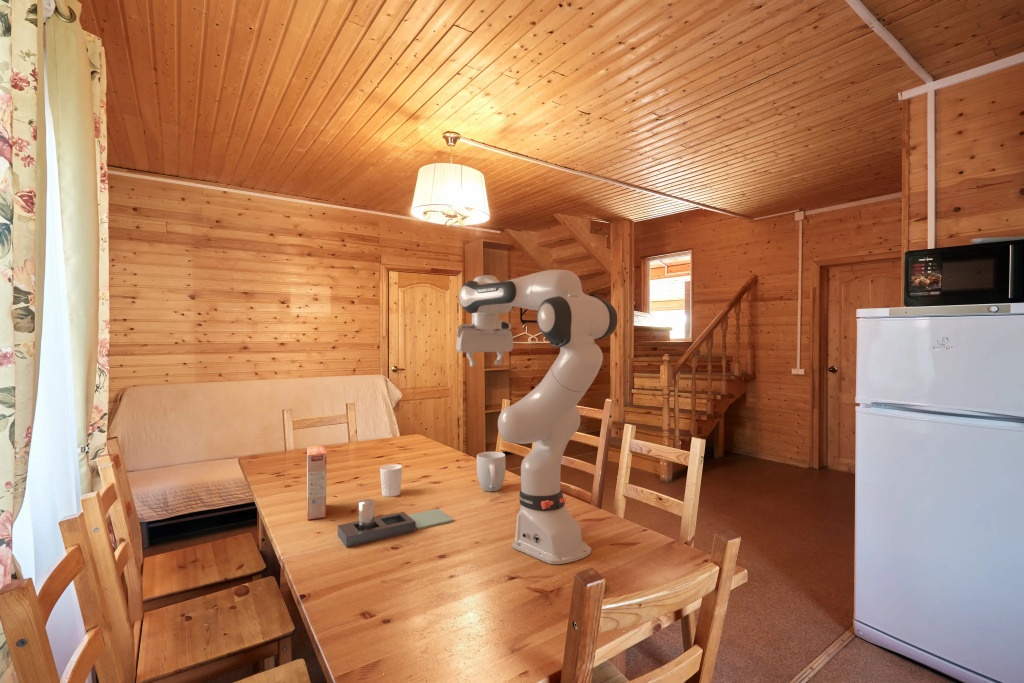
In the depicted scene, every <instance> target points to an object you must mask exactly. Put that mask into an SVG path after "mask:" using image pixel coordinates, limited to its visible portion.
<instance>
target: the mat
mask: <svg viewBox="0 0 1024 683" xmlns="http://www.w3.org/2000/svg"><path fill="white" fill-rule="evenodd" d="M407 515H408V516H409V517H411V518H412V519H413V520H414V521H415V524H416V530H417V531H418V530H423V529H427V528H431V527H434V526H435V527H436V526H440V525H444V524H448V523H453V522H454V521H455V519H453V518H452V517H451V516H449V515H448V514H446V513H445V512H444V511H442V510H440V509H439V508H434V509H429V510H425V511H420V512H416V513H412V514H407ZM454 523H455V522H454Z"/></svg>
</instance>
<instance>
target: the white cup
mask: <svg viewBox="0 0 1024 683" xmlns="http://www.w3.org/2000/svg"><path fill="white" fill-rule="evenodd" d="M379 472H380V486H381V495H382V496H383V497H396V496H399V495H401V493H402V480H403V476H402V475H403V474H402V473H403V466H402V465H401V464H393V463H392V464H391V463H390V464H385V465H382V466H380V467H379Z"/></svg>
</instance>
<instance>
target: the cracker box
mask: <svg viewBox="0 0 1024 683" xmlns="http://www.w3.org/2000/svg"><path fill="white" fill-rule="evenodd" d="M306 452H307V456H306V458H307V459H306V513H307V514H306V515H307V520H317V519H324V518H325V519H326V518H327V450H326V446H325V445H313V446H312V445H311V446H307V451H306Z"/></svg>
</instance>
